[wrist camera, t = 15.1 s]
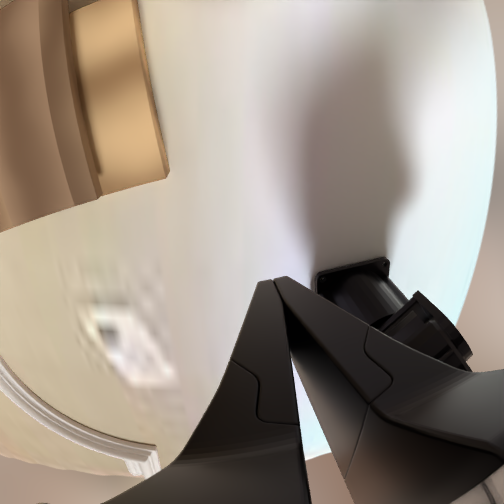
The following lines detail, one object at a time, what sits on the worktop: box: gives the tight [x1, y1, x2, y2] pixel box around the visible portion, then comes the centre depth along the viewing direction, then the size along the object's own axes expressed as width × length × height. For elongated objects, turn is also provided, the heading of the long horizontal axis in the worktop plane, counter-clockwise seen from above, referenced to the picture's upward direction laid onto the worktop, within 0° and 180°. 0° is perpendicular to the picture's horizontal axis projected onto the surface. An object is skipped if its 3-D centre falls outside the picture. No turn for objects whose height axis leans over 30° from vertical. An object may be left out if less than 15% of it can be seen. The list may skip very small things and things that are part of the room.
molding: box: [0, 355, 161, 480], centre depth 27 cm, size 42×12×3 cm, turn 35°
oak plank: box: [69, 0, 170, 196], centre depth 15 cm, size 12×5×2 cm, turn 9°
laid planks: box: [0, 0, 103, 232], centre depth 13 cm, size 12×14×4 cm
